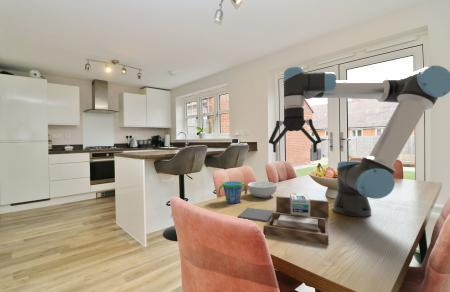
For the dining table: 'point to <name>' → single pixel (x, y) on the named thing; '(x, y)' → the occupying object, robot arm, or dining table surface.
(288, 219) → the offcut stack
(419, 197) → the dining table surface
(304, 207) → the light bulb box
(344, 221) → the dining table surface
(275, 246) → the dining table surface
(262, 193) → the cereal bowl
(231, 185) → the snack cup
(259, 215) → the mat
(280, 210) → the open wooden box
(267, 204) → the dining table surface
